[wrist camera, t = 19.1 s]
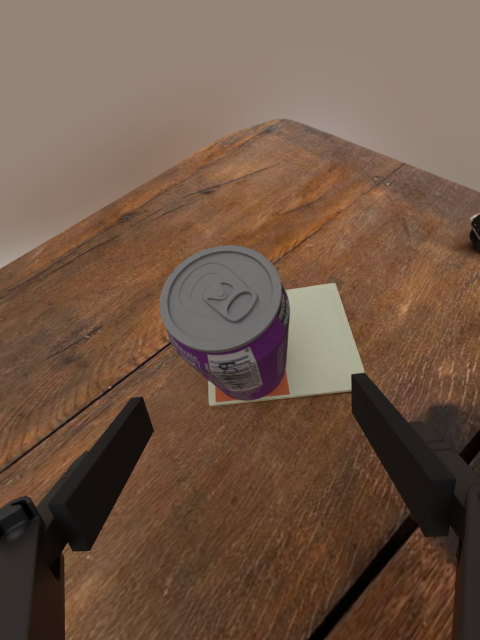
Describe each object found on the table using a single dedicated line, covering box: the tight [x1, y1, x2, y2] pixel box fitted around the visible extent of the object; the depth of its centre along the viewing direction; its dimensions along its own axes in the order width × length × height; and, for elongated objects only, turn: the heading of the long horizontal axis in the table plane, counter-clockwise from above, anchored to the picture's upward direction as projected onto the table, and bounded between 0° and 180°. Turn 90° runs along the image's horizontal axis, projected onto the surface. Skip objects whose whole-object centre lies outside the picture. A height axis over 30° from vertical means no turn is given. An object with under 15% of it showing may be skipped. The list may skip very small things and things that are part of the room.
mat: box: [208, 283, 365, 406], centre depth 23 cm, size 14×11×1 cm
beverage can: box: [160, 245, 290, 401], centre depth 17 cm, size 7×7×12 cm
